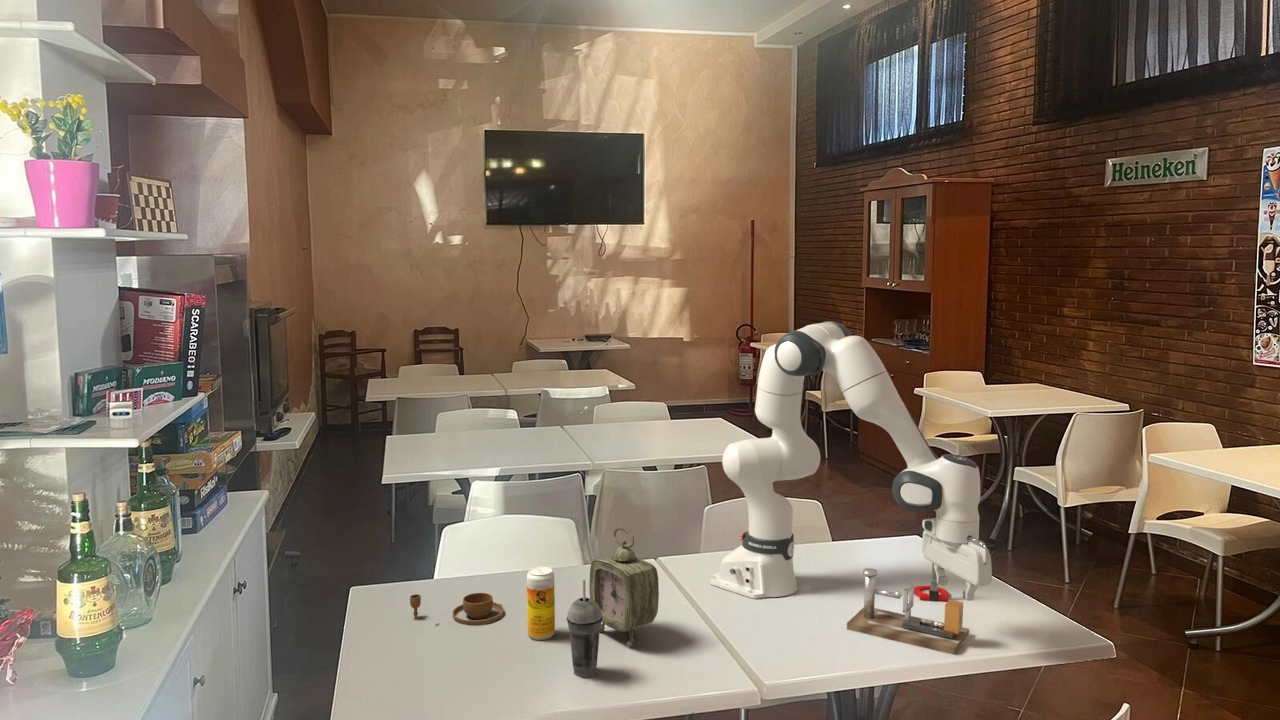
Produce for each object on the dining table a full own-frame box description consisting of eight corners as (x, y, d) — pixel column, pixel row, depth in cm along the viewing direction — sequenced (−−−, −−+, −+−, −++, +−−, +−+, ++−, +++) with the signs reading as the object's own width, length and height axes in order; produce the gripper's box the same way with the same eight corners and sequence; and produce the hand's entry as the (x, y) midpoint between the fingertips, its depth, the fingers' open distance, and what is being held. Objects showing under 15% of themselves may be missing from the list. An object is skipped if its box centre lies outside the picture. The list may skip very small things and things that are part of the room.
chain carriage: (901, 627, 201) (903, 590, 200) (908, 619, 206) (910, 583, 205) (956, 640, 195) (958, 601, 194) (962, 631, 199) (964, 593, 198)
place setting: (479, 636, 203) (478, 611, 202) (405, 622, 210) (405, 598, 210) (518, 608, 219) (518, 585, 218) (449, 596, 226) (448, 573, 226)
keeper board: (846, 629, 205) (847, 621, 205) (864, 611, 215) (865, 604, 215) (954, 654, 192) (955, 646, 192) (968, 635, 202) (969, 627, 202)
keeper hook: (859, 617, 208) (861, 571, 207) (864, 613, 210) (865, 567, 209) (898, 626, 203) (899, 579, 202) (902, 621, 206) (904, 574, 204)
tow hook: (910, 588, 231) (916, 600, 222) (912, 539, 230) (918, 549, 221) (945, 590, 230) (951, 602, 221) (946, 541, 229) (953, 551, 220)
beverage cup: (602, 663, 188) (602, 571, 185) (602, 680, 180) (602, 584, 178) (567, 664, 187) (567, 571, 185) (566, 680, 180) (565, 584, 178)
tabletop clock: (589, 631, 204) (589, 524, 201) (620, 621, 210) (620, 516, 207) (630, 652, 193) (630, 539, 190) (661, 641, 199) (662, 531, 196)
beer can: (529, 642, 198) (528, 576, 196) (525, 631, 204) (524, 567, 202) (557, 639, 200) (556, 574, 198) (552, 628, 206) (551, 565, 204)
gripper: (1001, 543, 186) (998, 607, 187) (942, 516, 205) (940, 575, 207) (974, 545, 184) (972, 610, 186) (918, 518, 204) (916, 577, 205)
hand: (954, 591), depth 196 cm, fingers open, 8 cm apart
